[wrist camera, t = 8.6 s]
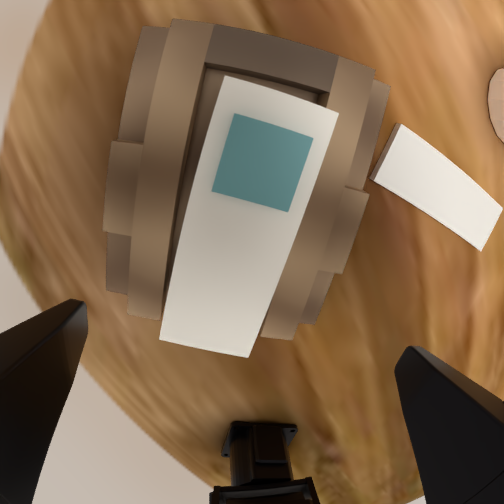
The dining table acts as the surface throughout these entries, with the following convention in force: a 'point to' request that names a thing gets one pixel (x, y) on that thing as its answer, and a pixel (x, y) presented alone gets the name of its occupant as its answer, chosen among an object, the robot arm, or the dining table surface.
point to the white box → (243, 214)
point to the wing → (436, 186)
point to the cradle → (191, 144)
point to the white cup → (497, 102)
